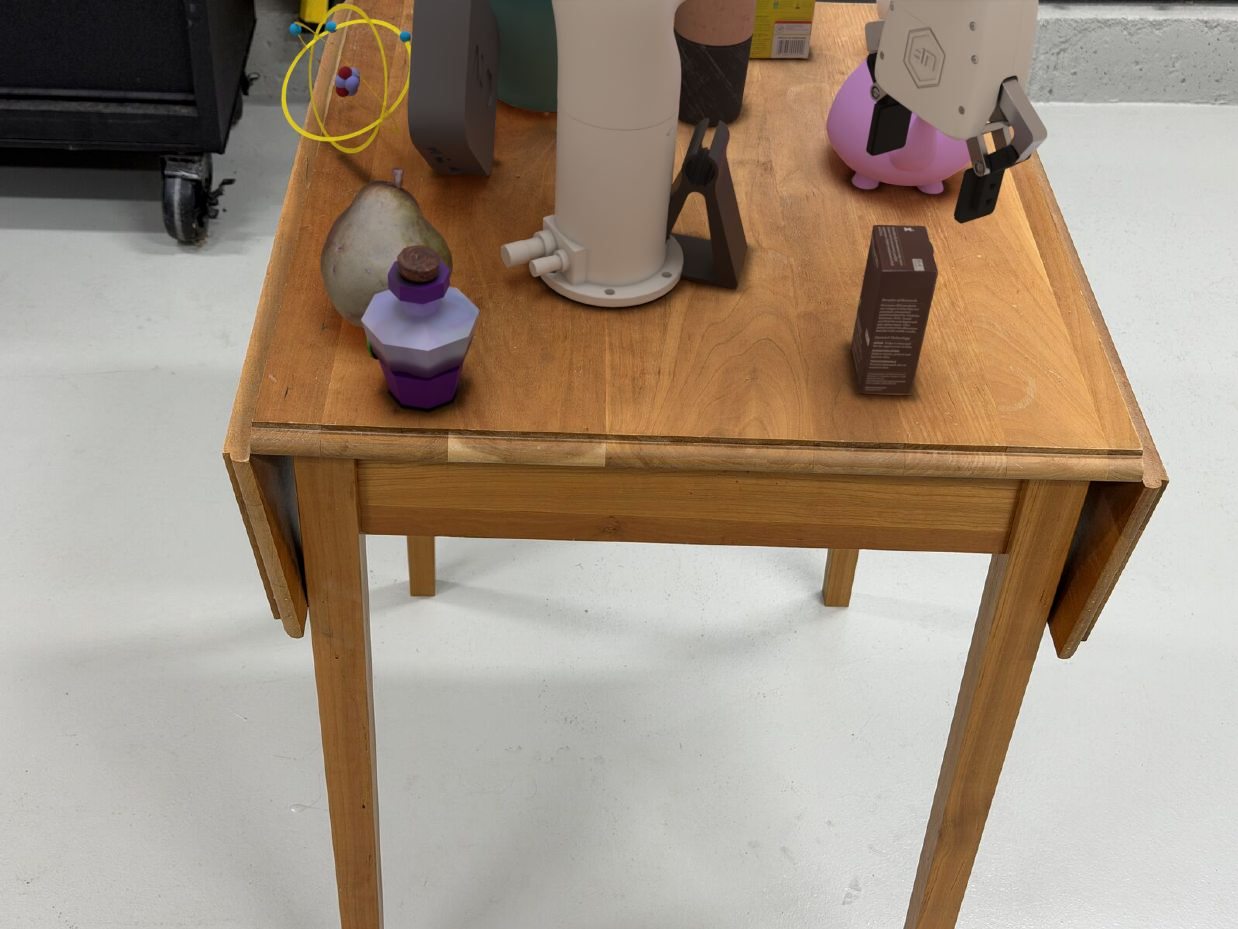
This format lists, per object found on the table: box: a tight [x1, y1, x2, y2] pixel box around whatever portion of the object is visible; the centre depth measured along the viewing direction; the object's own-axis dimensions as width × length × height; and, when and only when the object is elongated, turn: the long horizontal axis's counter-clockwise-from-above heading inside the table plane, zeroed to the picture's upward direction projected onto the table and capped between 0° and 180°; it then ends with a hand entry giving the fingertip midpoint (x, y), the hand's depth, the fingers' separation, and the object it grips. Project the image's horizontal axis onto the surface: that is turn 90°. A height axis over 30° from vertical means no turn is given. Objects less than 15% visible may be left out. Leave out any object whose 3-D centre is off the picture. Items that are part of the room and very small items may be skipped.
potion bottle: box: [361, 245, 481, 413], centre depth 103 cm, size 9×9×12 cm
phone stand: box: [665, 118, 748, 290], centre depth 117 cm, size 9×6×12 cm, turn 78°
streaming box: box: [407, 0, 500, 176], centre depth 123 cm, size 14×14×5 cm
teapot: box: [825, 57, 971, 195], centre depth 129 cm, size 20×14×12 cm
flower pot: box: [488, 0, 558, 113], centre depth 136 cm, size 18×18×17 cm
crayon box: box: [749, 0, 817, 60], centre depth 145 cm, size 7×3×12 cm, turn 94°
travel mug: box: [673, 0, 757, 127], centre depth 133 cm, size 8×8×20 cm
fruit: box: [319, 167, 454, 329], centre depth 109 cm, size 10×9×12 cm
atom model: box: [280, 3, 412, 154], centre depth 127 cm, size 14×15×14 cm
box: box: [850, 224, 939, 396], centre depth 107 cm, size 6×4×12 cm
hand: (927, 182), depth 99 cm, fingers open, 9 cm apart
